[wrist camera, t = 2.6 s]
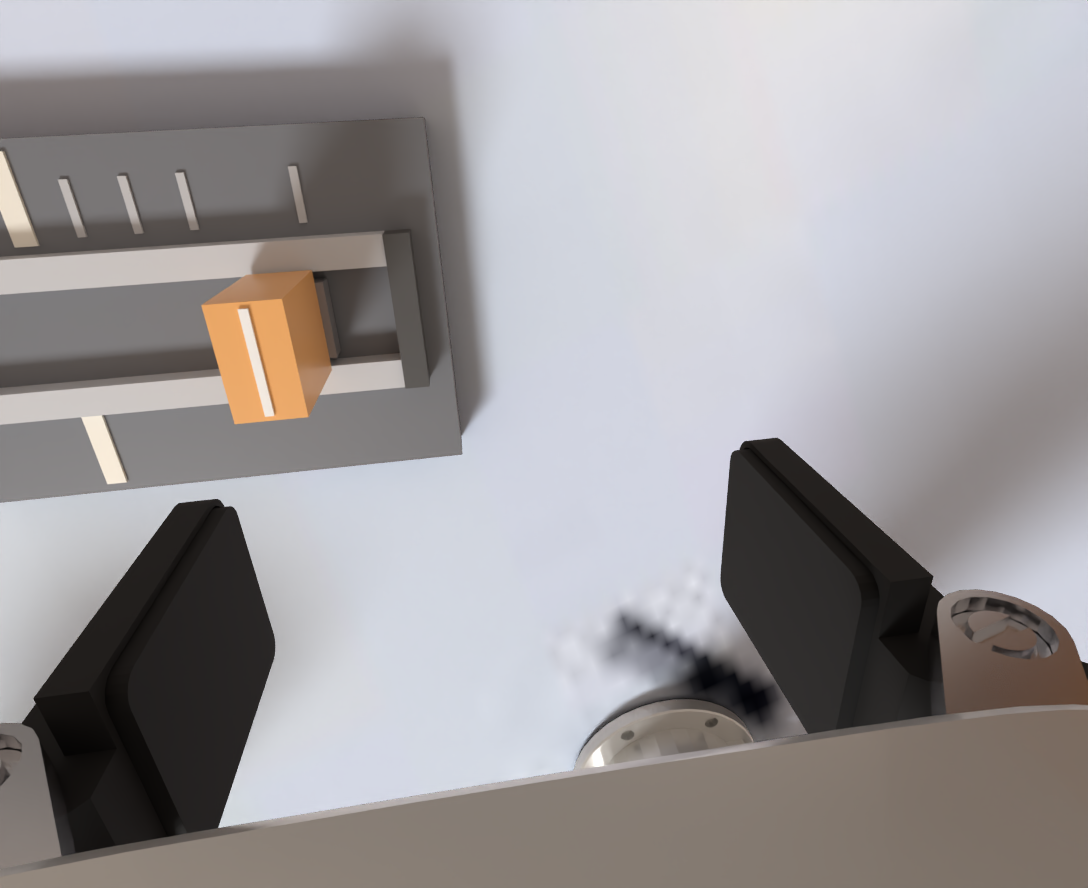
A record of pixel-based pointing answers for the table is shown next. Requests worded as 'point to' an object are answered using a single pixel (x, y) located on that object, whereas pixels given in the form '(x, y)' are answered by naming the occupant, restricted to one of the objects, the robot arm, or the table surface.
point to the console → (197, 276)
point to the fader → (273, 343)
